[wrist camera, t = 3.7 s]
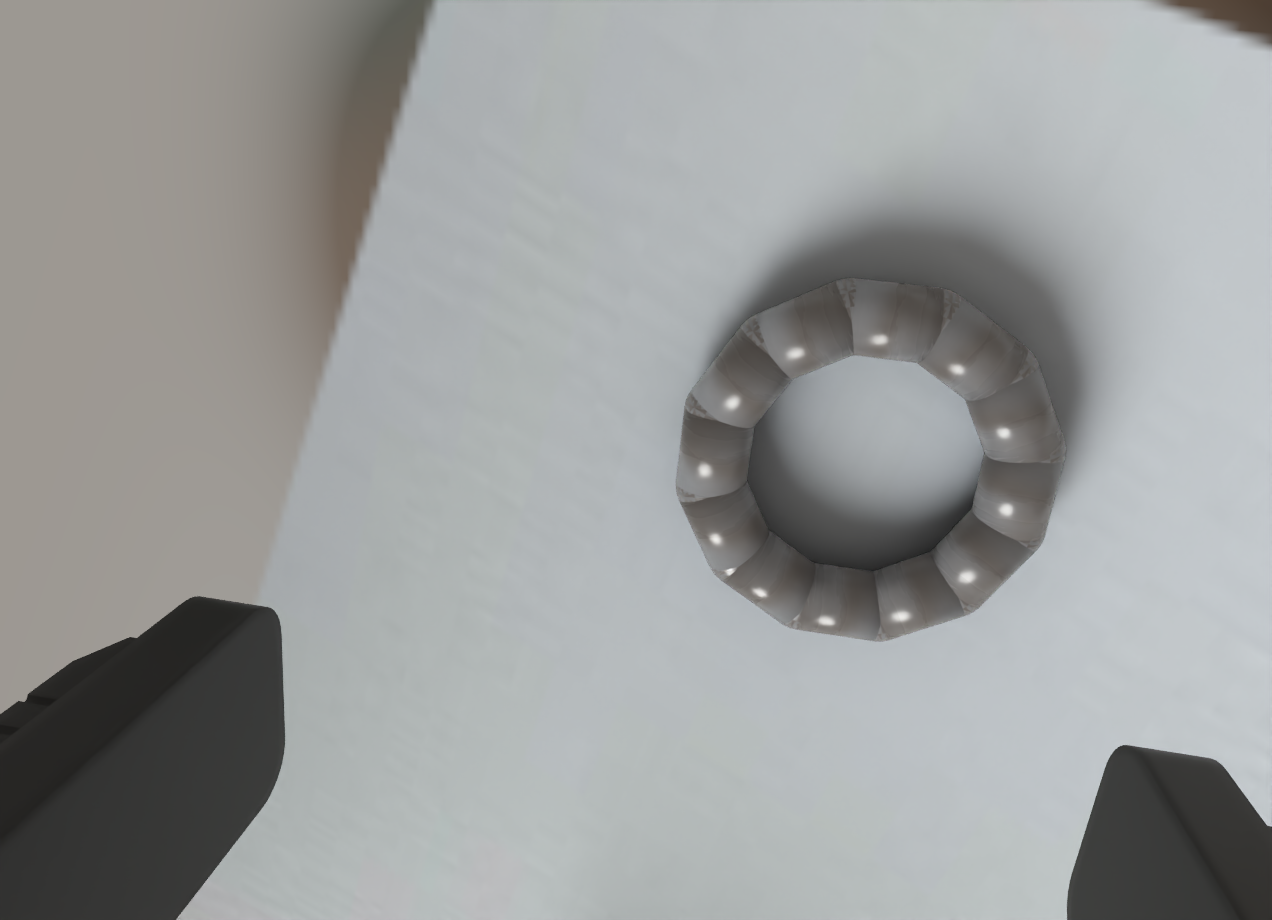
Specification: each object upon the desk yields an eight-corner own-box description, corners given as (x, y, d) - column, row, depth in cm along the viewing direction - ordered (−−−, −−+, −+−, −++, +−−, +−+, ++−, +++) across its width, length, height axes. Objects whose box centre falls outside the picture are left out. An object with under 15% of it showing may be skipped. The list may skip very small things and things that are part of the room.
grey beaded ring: (664, 590, 20) (657, 620, 19) (704, 256, 18) (699, 264, 17) (1002, 641, 20) (1019, 675, 18) (1089, 300, 17) (1116, 313, 16)
